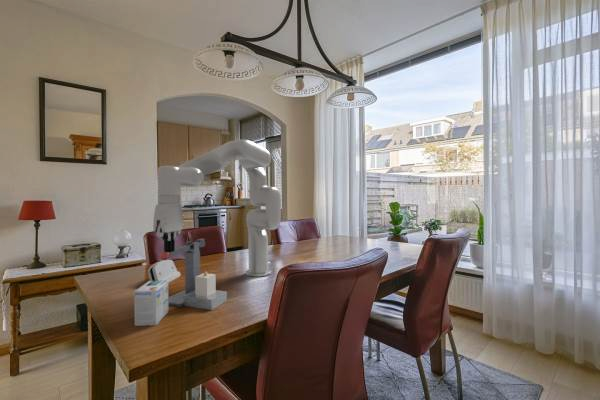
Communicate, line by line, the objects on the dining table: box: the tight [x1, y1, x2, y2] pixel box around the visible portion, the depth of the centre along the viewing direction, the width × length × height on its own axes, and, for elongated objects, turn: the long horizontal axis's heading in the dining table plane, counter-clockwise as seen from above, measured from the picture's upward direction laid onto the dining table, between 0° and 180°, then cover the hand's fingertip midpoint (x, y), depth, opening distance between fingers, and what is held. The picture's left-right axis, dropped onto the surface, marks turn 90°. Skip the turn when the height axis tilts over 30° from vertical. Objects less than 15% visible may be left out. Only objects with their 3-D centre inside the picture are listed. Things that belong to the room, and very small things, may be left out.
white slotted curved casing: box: [147, 259, 182, 284], centre depth 136 cm, size 17×5×10 cm, turn 174°
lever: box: [159, 238, 206, 261], centre depth 115 cm, size 23×3×3 cm, turn 160°
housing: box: [195, 271, 217, 296], centre depth 108 cm, size 5×5×8 cm
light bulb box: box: [133, 280, 170, 327], centre depth 95 cm, size 11×7×11 cm, turn 5°
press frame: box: [168, 240, 228, 311], centre depth 112 cm, size 17×21×20 cm
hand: (169, 251), depth 108 cm, fingers closed
